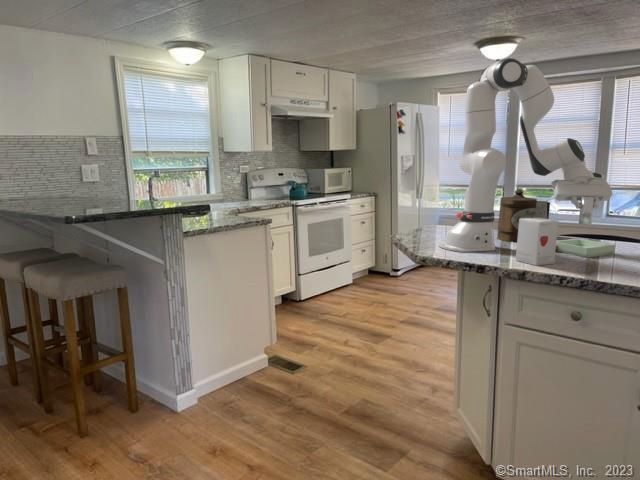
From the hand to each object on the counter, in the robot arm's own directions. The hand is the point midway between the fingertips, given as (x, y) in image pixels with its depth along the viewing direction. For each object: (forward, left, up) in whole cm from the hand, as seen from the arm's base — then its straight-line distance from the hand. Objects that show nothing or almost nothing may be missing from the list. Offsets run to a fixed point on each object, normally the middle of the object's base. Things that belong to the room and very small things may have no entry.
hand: (587, 207), depth 175 cm
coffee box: (+15, +34, -17) cm, 41 cm away
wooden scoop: (-12, +6, -17) cm, 22 cm away
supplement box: (-31, -4, -17) cm, 36 cm away
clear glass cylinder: (0, +1, -6) cm, 6 cm away
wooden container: (-1, +32, -17) cm, 36 cm away
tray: (0, +1, -17) cm, 17 cm away
